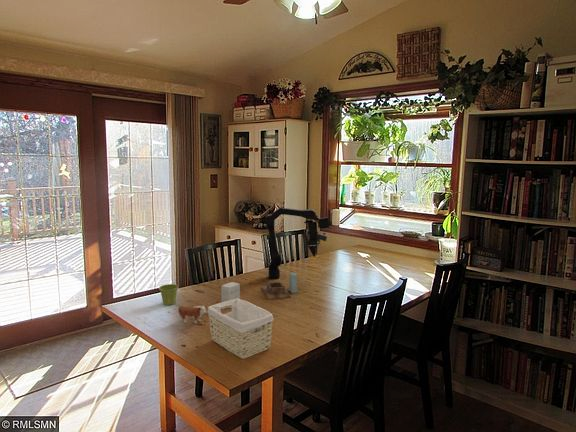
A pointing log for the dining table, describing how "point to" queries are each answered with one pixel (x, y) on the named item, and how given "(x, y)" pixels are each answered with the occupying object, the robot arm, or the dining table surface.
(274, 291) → the board
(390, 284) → the dining table surface
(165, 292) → the plant pot
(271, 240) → the robot arm
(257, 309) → the storage basket
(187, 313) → the bull figurine
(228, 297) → the small box
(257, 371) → the dining table surface
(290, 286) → the pale blue rectangular block
